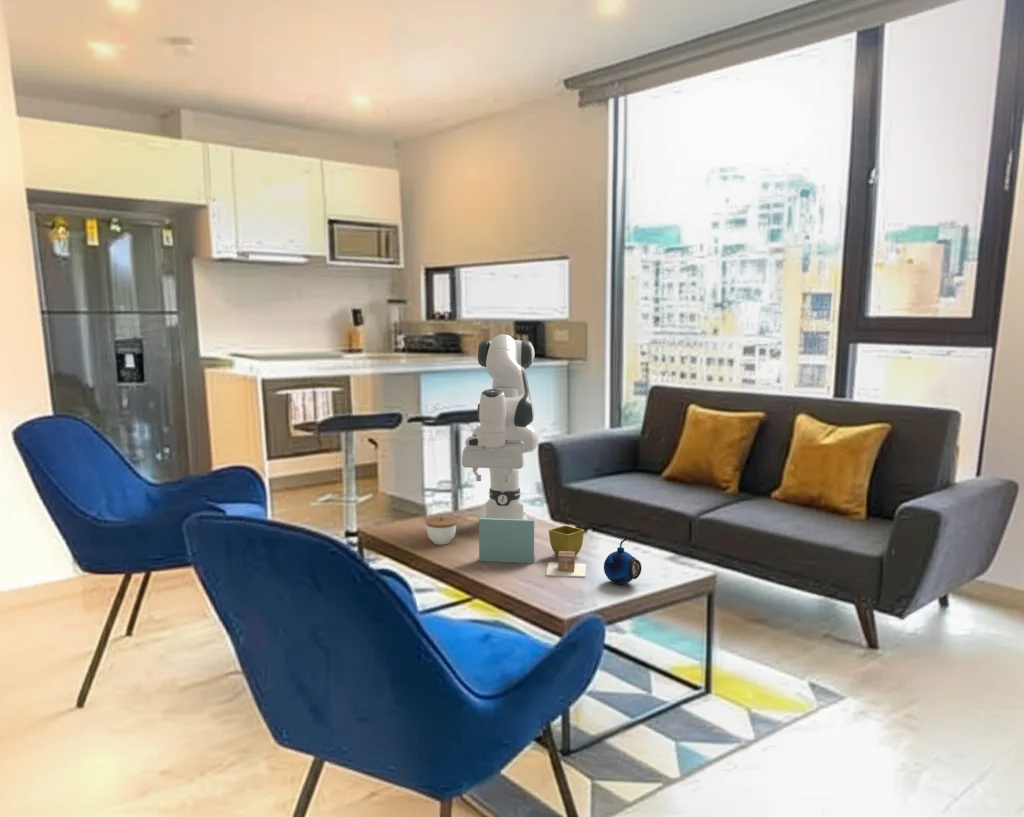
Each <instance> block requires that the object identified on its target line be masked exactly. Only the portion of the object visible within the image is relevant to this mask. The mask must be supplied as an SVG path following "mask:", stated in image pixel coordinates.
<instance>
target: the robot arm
mask: <svg viewBox="0 0 1024 817" xmlns="http://www.w3.org/2000/svg"><path fill="white" fill-rule="evenodd" d="M476 348H477V349H476V355H475V356H476V359H477V361H478V364H479V365H480V366H481V367H483V368H485V369H486V372H487V374H488V375H489V377H490V378H492V388H490V389H485V390H483V391H482V392H481V394H480V399H479V400H480V401H479V403H478V405H477V420H478V422H480V425H478V426H476V427H475V428H474V430H473V431H472V435H471V436H469V437H467V438H466V440H465V443H464V444H465V447H464V448H463V450H462V456H461V466H463V468H469V469H470V468H472V472H473V474H474V475H475V481H476V482H481V481H482V474H479V473H478V469H489V478H490V487H489V491H488V495H489V499H488V500H487V501H486V502H485V507H484V508H485V509H484V510H485V511H484V518H498V519H526V520H529V519H528V516H527V513H526V512H525V511H524V503H523V501H522V500H521V488H520V475H519V474H520V471H519V469H522V468H523V467H524V464H525V463H524V462H525V461H524V454H526V453H532V452H534V451H535V449H536V448H537V447H538V444H539V434H538V432H537V430H536V428H534V427H533V426H532V425H531V424H532V422H533V421H534V418H535V417H534V416H535V407H534V404H533V402H532V398H531V392H530V387H529V380H528V378H527V377H528V376H527V372H526V369H528V368H530V367H531V366H532V364H533V362H534V360H535V348H534V346H533V343H532V342H531V341H529V340H526V339H522V340H520V339H514V338H513V337H512V336H510V335H509V334H506V333H505V334H503V333H502V334H498V335H496V336H495V337H494V338H493V339H492V340H489V339H487V340H483V341H481V342H480V343H478V347H476Z"/></svg>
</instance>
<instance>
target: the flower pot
mask: <svg viewBox="0 0 1024 817" xmlns="http://www.w3.org/2000/svg"><path fill="white" fill-rule="evenodd" d="M584 534H585V529H582V528H578V527H574V526H571V525H562V526H558V527H555V528H551V529H548V536H549V543H550V546H551V549H552V551H553V553H554V554H555V556H556V557H558V554H559V551H572V552H575V557H576V556H577V555H578V554H579V553H580V550H581V549H582V546H583V541H584Z"/></svg>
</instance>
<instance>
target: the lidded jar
mask: <svg viewBox="0 0 1024 817" xmlns="http://www.w3.org/2000/svg"><path fill="white" fill-rule="evenodd" d="M425 523H426V533H427V536H428V538H429V539H430V541H431V542H432V543H433V544H434V545H447V544H450V543H451V541H452V540H453V539H454V537H455V536H456V533H457V519H455V518H452V517H447V516H446V517H445V516H443V515H440V516H438V517H432V518H429V519H426V521H425Z"/></svg>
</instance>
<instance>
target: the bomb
mask: <svg viewBox="0 0 1024 817" xmlns="http://www.w3.org/2000/svg"><path fill="white" fill-rule="evenodd" d="M627 537H628V535H625V536H624V539H623V540H621V541H620V543H619V547H617V549H616V550H615V551H613V552H611V553H610V554H609V555H607V556H606V558H605V559H604V563H603V571H604V574H605V576H606V577H607V579H608V581H610V582H611V583H614V584H616V585H626V584H628V583H630V582H631V581H633V580H636V579H637V578H638V577H640V575H641V573H642V564H641V562H640V560H639V559H637V558H636V557H634V556H633V555H632V554H630V553H629V552H627V551H625V548H624V547H623V546H622V545H623V543H624V542H626V540H627V539H628V538H627Z"/></svg>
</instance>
